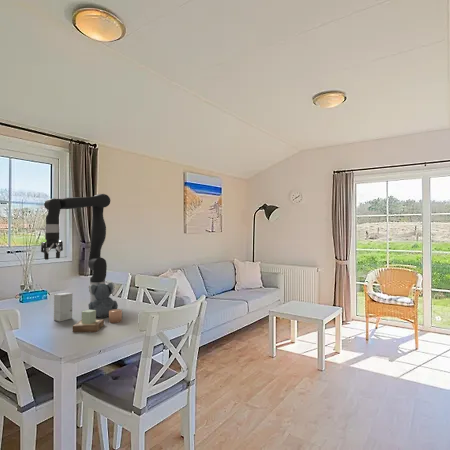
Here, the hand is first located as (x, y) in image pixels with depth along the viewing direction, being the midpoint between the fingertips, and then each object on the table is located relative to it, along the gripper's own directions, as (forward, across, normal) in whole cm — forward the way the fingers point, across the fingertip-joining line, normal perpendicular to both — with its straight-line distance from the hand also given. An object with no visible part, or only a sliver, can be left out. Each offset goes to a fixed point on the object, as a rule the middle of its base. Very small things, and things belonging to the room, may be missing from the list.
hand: (52, 258), depth 204 cm
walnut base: (+34, +14, +38) cm, 53 cm away
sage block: (+31, +14, +38) cm, 51 cm away
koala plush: (+34, -12, +27) cm, 45 cm away
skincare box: (+34, +4, +12) cm, 37 cm away
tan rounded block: (+34, -2, +43) cm, 55 cm away
